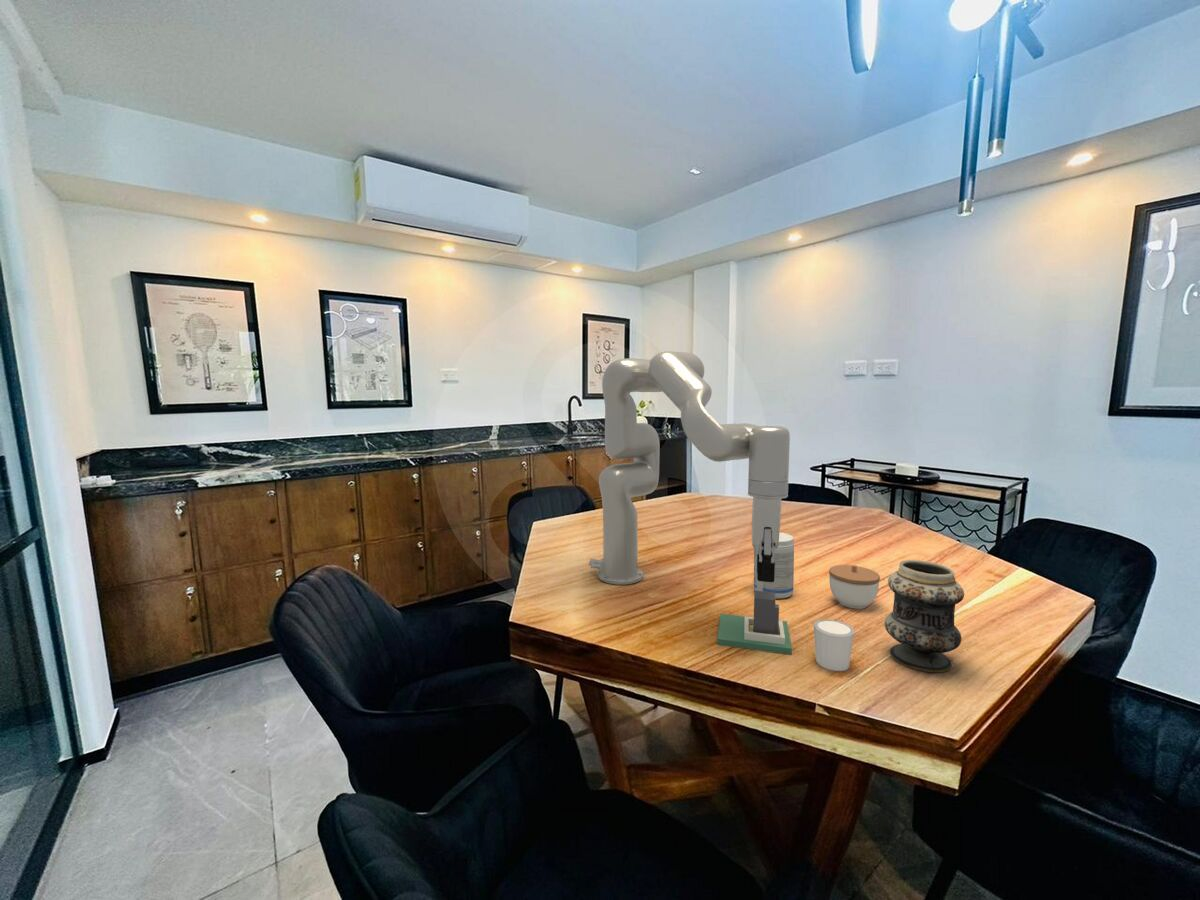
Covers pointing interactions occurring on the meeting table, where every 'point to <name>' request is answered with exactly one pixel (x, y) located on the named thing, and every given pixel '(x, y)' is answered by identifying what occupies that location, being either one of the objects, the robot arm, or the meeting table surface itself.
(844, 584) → the lidded jar
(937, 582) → the apothecary jar
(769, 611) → the plug
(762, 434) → the robot arm
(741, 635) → the board
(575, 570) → the meeting table surface
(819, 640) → the white cylinder
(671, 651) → the meeting table surface
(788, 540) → the supplement tub
